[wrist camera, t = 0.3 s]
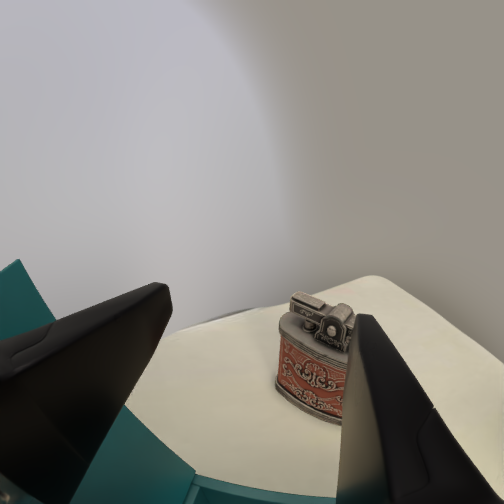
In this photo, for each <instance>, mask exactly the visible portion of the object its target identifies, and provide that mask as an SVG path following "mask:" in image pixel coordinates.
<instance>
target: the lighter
mask: <svg viewBox="0 0 504 504" xmlns="http://www.w3.org/2000/svg"><path fill="white" fill-rule="evenodd" d="M355 318H356V315H355V314H354V313H353V310H352V308H351V307H350V306H348V305H346V304H344V303H340V304H338V305H337V306H331V305H329V304H326V303H325V302H324V301H322V300H320V299H317V298H315V297H312V296H310V295H308V294H305V293H303V292H296V293H295V294H294V295H292V296H291V298H290V312H287V313H285V314H284V315H283V316H282V317H281V318H280V321H279V333H280V334H281V341H280V355H279V369H278V374H277V376H276V380H275V387H276V390H277V391H278V392H279V393H280V394H281V395H282V396H284V397H285V398H286V399H287V400H288V401H289V402H291V403H292V404H294V405H295V406H297V407H298V408H300V409H301V410H303V411H304V412H306V413H308V414H310V415H313V416H315V417H317V418H319V419H321V420H324V421H327V422H330V423H333V424H336V425H339V426H342V403H343V391H344V383H345V376H346V369H347V361H348V353H349V345H350V339H351V335H352V330H353V326H354V322H355Z"/></svg>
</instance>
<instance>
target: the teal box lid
mask: <svg viewBox="0 0 504 504" xmlns="http://www.w3.org/2000/svg"><path fill="white" fill-rule="evenodd" d="M54 321H56V319H55V317H54V316H53V314H52V313H51V311H50V310H49V308H48V307H47V305H46V303H45V302H44V301H43V299H42V297H41V295H40V294H39V292H38V290H37V289H36V287H35V285H34V284H33V282H32V280H31V279H30V277H29V275H28V273H27V272H26V270H25V268H24V266H23V264H22V263H21V261H20V259H17V260H15V261H14V262H13V263H11V264H10V265H8V266H7V267H6V268H4V269H3V270H2V271H0V340H3V339H6V338H10V337H13V336H16V335H19V334H22V333H25V332H28V331H30V330H33V329H36V328H38V327H41V326H43V325H46V324H48V323H51V322H52V323H53V322H54ZM195 472H196V470H194V469H193V468H192V467H191V466H189V465H188V464H187V463H186V462H185V461H183V460H182V459H181V458H180V457H179V456H178V455H176V454H175V453H174V452H173V451H172V450H171V449H169V448H168V447H167V446H166V445H165V444H164V443H163V442H162V441H161V440H159V439H158V438H157V437H156V436H155V435H154V434H153V433H152V432H151V431H150V430H149V429H148V428H147V427H146V426H145V425H144V424H143V423H142V422H141V421H140V420H139V419H138V418H137V417H136V416H135V415H134V414H133V413H132V412H131V411H130V410H129V409H128V408H127V407H126V406H125V405H124V406H123V407H122V409H121V411H120V413H119V414H118V416H117V418H116V420H115V421H114V423H113V425H112V427H111V428H110V430H109V432H108V434H107V435H106V437H105V439H104V441H103V443H102V444H101V446H100V448H99V450H98V452H97V453H96V455H95V457H94V459H93V461H92V462H91V464H90V467H89V468H88V470H87V472H86V474H85V476H84V478H83V479H82V481H81V483H80V485H79V487H78V489H77V491H76V492H75V494H74V496H73V498H72V500H71V502H70V504H182V503H183V501H184V499H185V496H186V494H187V491H188V489H189V487H190V484H191V482H192V480H193V477H194V475H195ZM30 504H43V503H41V502H40V501H38V500H37V499H35V498H33V500H32V501H31V503H30Z"/></svg>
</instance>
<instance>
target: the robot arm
mask: <svg viewBox="0 0 504 504" xmlns="http://www.w3.org/2000/svg"><path fill="white" fill-rule="evenodd" d="M172 311H173V307H172V301H171V296H170V291H169V287H168V286H167V285H166V284H163V283H158V282H153V283H151V284H148V285H145V286H143V287H140V288H138V289H135V290H133V291H130V292H127V293H125V294H122V295H120V296H117V297H115V298H112V299H110V300H107V301H104V302H102V303H99V304H97V305H95V306H92V307H89V308H87V309H84V310H81V311H79V312H77V313H74V314H71V315H69V316H66V317H64V318H61V319H59V320H56V321H54V322H53V323H52V322H51V323H48V324H46V325H43V326H41V327H38V328H36V329H33V330H30V331H28V332H25V333H22V334H19V335H16V336H13V337H10V338H6V339H3V340H0V504H30V503H31V501H32V500H33V498H35V499H37V500H38V501H40V502H41V503H43V504H70V502H71V500H72V498H73V496H74V494H75V492H76V491H77V489H78V487H79V485H80V483H81V481H82V479H83V478H84V476H85V474H86V472H87V470H88V468H89V467H90V464H91V462H92V461H93V459H94V457H95V455H96V453H97V452H98V450H99V448H100V446H101V444H102V443H103V441H104V439H105V437H106V435H107V434H108V432H109V430H110V428H111V427H112V425H113V423H114V421H115V420H116V418H117V416H118V414H119V413H120V411H121V409H122V407H123V406H124V404H125V402H126V400H127V399H128V397H129V395H130V393H131V392H132V390H133V388H134V387H135V385H136V383H137V382H138V380H139V378H140V376H141V375H142V373H143V371H144V370H145V368H146V366H147V365H148V363H149V361H150V359H151V358H152V356H153V354H154V352H155V350H156V348H157V346H158V343H159V341H160V339H161V337H162V334H163V332H164V330H165V328H166V326H167V324H168V322H169V319H170V317H171V315H172ZM433 407H434V405H433V404H432V402H431V401H430V399H429V397H428V396H427V394H426V393H425V391H424V390H423V388H422V387H421V385H420V383H419V382H418V380H417V379H416V377H415V376H414V374H413V373H412V371H411V370H410V368H409V367H408V365H407V364H406V362H405V361H404V359H403V358H402V357H401V355H400V354H399V352H398V351H397V349H396V348H395V346H394V345H393V343H392V342H391V341H390V339H389V338H388V336H387V335H386V333H385V332H384V331H383V329H382V328H381V326H380V325H379V324H378V322H377V321H376V319H375V318H374V317H373V316H372V315H369V314H357V315H356V318H355V322H354V326H353V330H352V335H351V339H350V345H349V353H348V361H347V369H346V376H345V383H344V391H343V403H342V430H341V448H340V462H339V474H338V485H337V495H336V504H504V500H503V499H501V498H500V497H499V496H498V495H497V494H496V493H495V491H494V490H493V489H492V488H491V486H490V485H489V483H488V482H487V481H486V479H485V478H484V477H483V475H482V474H481V473H480V471H479V470H478V469H477V467H476V466H475V465H474V463H473V462H472V461H471V459H470V458H469V457H468V455H467V454H466V453H465V451H464V450H463V449H462V447H461V446H460V444H459V443H458V442H457V440H456V439H455V438H454V436H453V435H452V433H451V432H450V430H449V429H448V427H447V426H446V424H445V422H444V421H443V419H442V418H441V416H440V415H439V413H438V411H437V410H436V408H433Z"/></svg>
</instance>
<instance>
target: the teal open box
mask: <svg viewBox="0 0 504 504" xmlns="http://www.w3.org/2000/svg"><path fill="white" fill-rule="evenodd" d="M182 504H336V498H330V497H316V496H305V495H296V494H288V493H281V492H274V491H268V490H262V489H256V488H251V487H246V486H241V485H237V484H232V483H228V482H224V481H220V480H216V479H212V478H208V477H205V476H201V475H198V474H195V475H194V477H193V480H192V482H191V484H190V487H189V489H188V491H187V494H186V496H185V499H184V501H183V503H182Z"/></svg>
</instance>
